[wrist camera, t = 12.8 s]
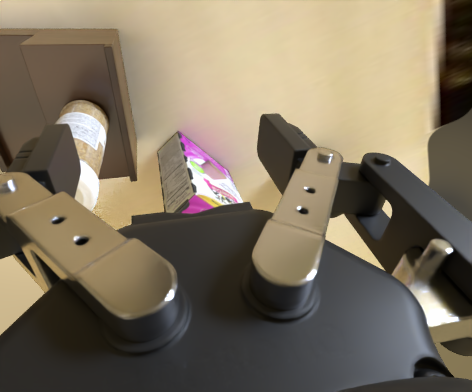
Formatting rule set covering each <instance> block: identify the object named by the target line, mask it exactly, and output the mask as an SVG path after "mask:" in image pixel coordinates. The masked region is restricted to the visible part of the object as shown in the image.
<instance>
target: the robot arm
mask: <svg viewBox="0 0 472 392" xmlns="http://www.w3.org/2000/svg"><path fill="white" fill-rule="evenodd" d="M257 153H258V157H259V159H260V161H261V162H262V164H263V166H264V167H265V169H266V170H267V172H268V173H269V175H270V177H271V178H272V180H273V181H274V183H275V185H276V186H277V188H278V189H279V191H280V192H281V194H282V198H281V200H280V202H279V204H278V206H277V208H276V210H275V212H274V213H271V212H268V211H263V210H256V209H253V208H252V206H251V204H250V202H243V203H235V204H227V205H221V206H218V207H215V208H211V209H208V210H205V211H202V212H198V213H193V214H191V213H168V212H161V213H152V214H144V215H136V216H132V225H129V226H126V227H123V228H121V229H119V230H117V231H116V230H115V229H114V228H112V227H111V226H110V225H108V224H107V223H106V222H104V221H103V220H102V219H100V218H99V217H98V216H96V215H95V214H94V213H92V212H91V211H90V210H88V209H87V208H86V207H84V206H83V205H82V204H81V203H79V202H78V201H77V200H75V195H76V191H77V187H78V183H79V179H80V175H81V164H80V159H79V155H78V152H77V148H76V145H75V141H74V138H73V135H72V131H71V128H70V126H69V124H67V123H64V124H46V125H45V127H44V129H43V131H42V133H41V135H40V137H34V138H32V139H30V140H29V141H27V142H26V143H24V144H23V145H22V147H21V149H20V150H19V153H18V154H17V155H16V157H15V158H16V159H14V160H13V162H12V164H11V165H10V167H9V169H8V170H7V172H6V173H3V174H0V259H2V258H5V257H8V256H11V255H13V257H14V258H15V259H16V261H17V262H18V263H19V264H20V265H21V266H22V267H23V268H24V269H25V271H26V272H27V273H28V274H29V275H30V276H31V277H32V278H33V279H34V281H35V282H36V283H37V284H38V285H39V286H40V287H41V289H42V290H43V291H44V293H45V294H44V295H43V296H42V297H41V298H39V299H38V300H37V301H36V302H35V303H34V304H33V305H32V306H31V307H30V308H29V309H28V310H27V311H26V312H25V313H24V314H22V315H21V316H20V317H19V318H18V319H17V320H16V321H15V322H14V323H13V324H12V325H11V326H10V327H9V328H8V329H7V330H5V331H4V332H3V333H2V334H1V335H0V392H472V380H468V379H462V378H454V376H453V375H452V374H451V373H450V372H449V370H448V369H447V367H446V366H445V364H444V362H443V360H442V359H441V357H440V355H439V353H438V351H437V349H436V347H435V344H436V343H440V344H441V345H443V346H444V347H445V348H447V349H448V350H450V351H452V352H454V353H456V354H459V355H463V356H472V222H471V221H470V220H468V219H467V218H466V217H465V216H464V215H462V214H461V213H460V212H459V211H457V210H456V209H455V208H454V207H453V206H451V205H450V204H449V203H448V202H447V201H445V200H444V199H443V198H442V197H441V196H439V195H438V194H437V193H436V192H435V191H433V190H432V189H431V188H430V187H429V186H427V185H426V184H425V183H424V182H423V181H421V180H420V179H419V178H418V177H417V176H415V175H414V174H413V173H412V172H411V171H409V170H408V169H407V168H406V167H405V166H403V165H402V164H401V163H400V162H399V161H397V160H396V159H394V158H393V157H391V156H388V155H385V154H381V153H367V154H365V155H364V156H363V159H362V162H361V164H357V163H346V162H343V157H342V156H341V155H340V154H339V153H338V152H336V151H334V150H331V149H327V148H317V147H316V145H315V144H314V143H313V142H312V141H311V140H310V139H309V138H307V136H306V135H305V134H303V132H302V131H301V130H300V129H299V128H298V127H296V126H294V125H292V124H290V123H287V122H286V121H285V120H284V119H283V118H282V117H281V115H280V114H263V115H262V116H261V118H260V125H259V134H258V143H257ZM385 200H387V201H388V202H389V203H390V204H391V207H392V216H391V219H390V218H389V217H388V216H387V215H386V214H385V212H384V211H383V210H382V207H383V205H384V203H385ZM331 212H337V213H344V214H345V216H346V218H347V219H348V220H349V222H350V223H351V224H352V226H353V227H354V229H355V230H356V231H357V233H358V234H359V235H360V237H361V238H362V239H363V241H364V242H365V244H366V245H367V246H368V248H369V249H370V250H371V252H372V253H373V254H374V256H375V257H376V258H377V260H378V261H379V263H380V264H381V265H382V267H383V268H384V269H385V271H384V270H382V269H380V268H378V267H376V266H374V265H372V264H371V263H369V262H367V261H365V260H363V259H361V258H359V257H357V256H355V255H354V254H352V253H350V252H348V251H346V250H344V249H342V248H340V247H338V246H337V245H335V244H333V243H331V242H329V241H327V240H325V237H326V236H325V235H326V231H327V226H328V222H329V218H330V214H331Z"/></svg>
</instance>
